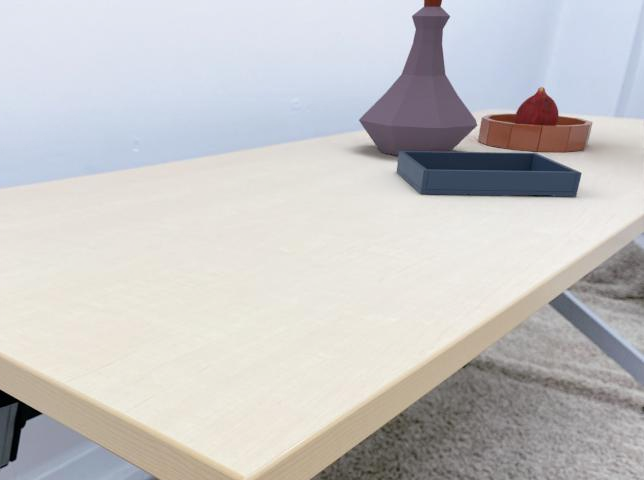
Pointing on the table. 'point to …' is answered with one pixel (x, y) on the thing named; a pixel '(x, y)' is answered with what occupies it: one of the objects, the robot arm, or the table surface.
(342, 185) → the table surface
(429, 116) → the flask
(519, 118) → the onion
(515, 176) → the tray
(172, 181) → the table surface
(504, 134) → the bowl
